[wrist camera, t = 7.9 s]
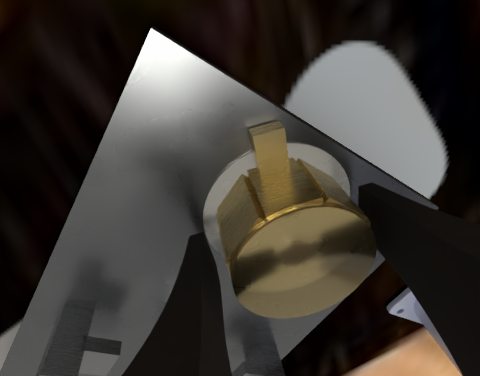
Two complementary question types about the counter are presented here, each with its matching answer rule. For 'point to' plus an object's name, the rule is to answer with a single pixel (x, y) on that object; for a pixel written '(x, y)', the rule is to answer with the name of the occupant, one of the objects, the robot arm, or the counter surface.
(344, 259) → the cap
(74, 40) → the counter surface
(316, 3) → the counter surface
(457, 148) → the counter surface
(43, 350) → the base
